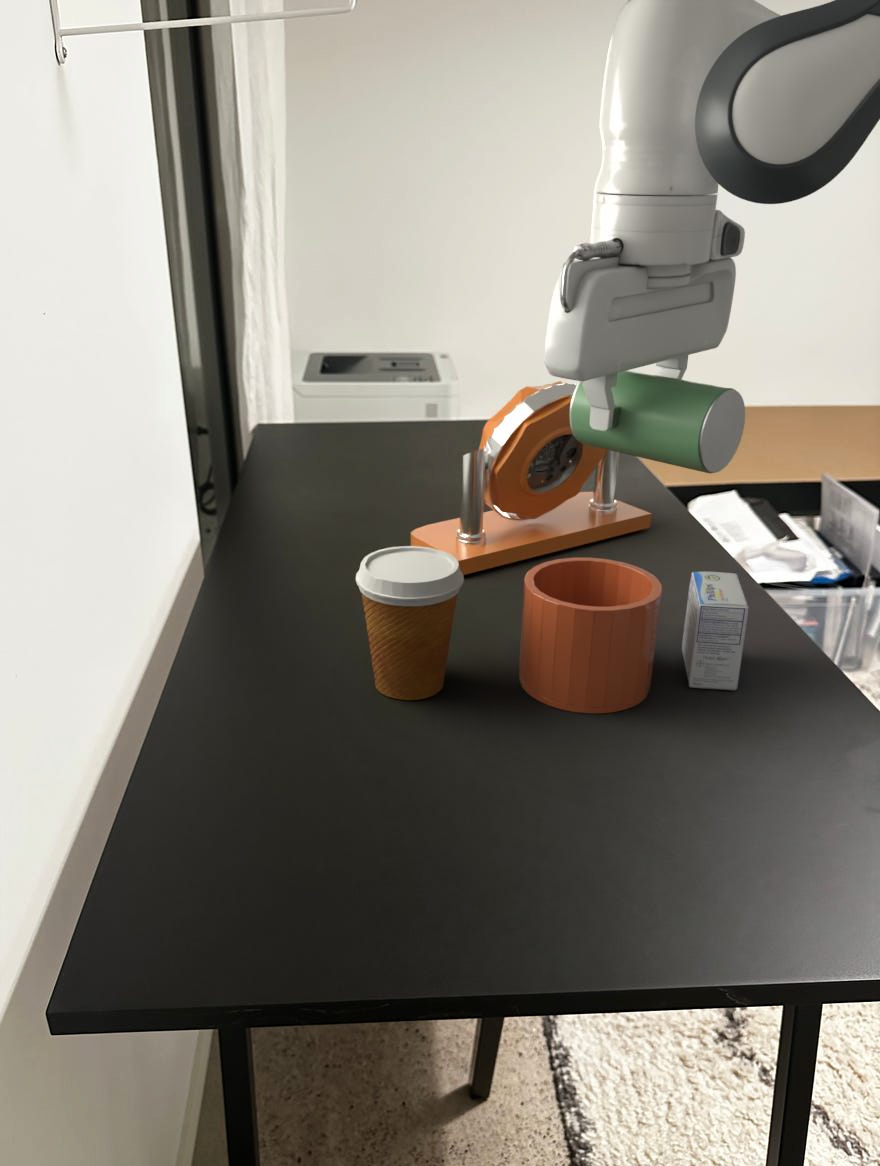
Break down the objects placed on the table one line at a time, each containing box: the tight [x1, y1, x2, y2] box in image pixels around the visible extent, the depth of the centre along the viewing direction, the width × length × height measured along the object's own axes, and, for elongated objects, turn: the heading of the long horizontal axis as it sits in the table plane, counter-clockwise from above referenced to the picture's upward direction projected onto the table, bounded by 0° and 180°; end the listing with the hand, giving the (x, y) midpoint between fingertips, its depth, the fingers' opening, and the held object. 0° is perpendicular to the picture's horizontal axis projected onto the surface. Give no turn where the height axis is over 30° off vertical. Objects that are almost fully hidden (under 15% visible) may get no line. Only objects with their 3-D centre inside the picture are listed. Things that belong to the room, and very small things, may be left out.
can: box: [570, 370, 746, 474], centre depth 82 cm, size 12×6×6 cm, turn 45°
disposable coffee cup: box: [355, 545, 465, 701], centre depth 94 cm, size 10×10×12 cm
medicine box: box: [681, 571, 750, 692], centre depth 97 cm, size 8×4×9 cm, turn 171°
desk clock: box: [410, 381, 652, 576], centre depth 126 cm, size 12×30×20 cm, turn 123°
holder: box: [518, 557, 663, 714], centre depth 95 cm, size 12×12×10 cm
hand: (632, 420), depth 83 cm, fingers closed on can, 6 cm apart
